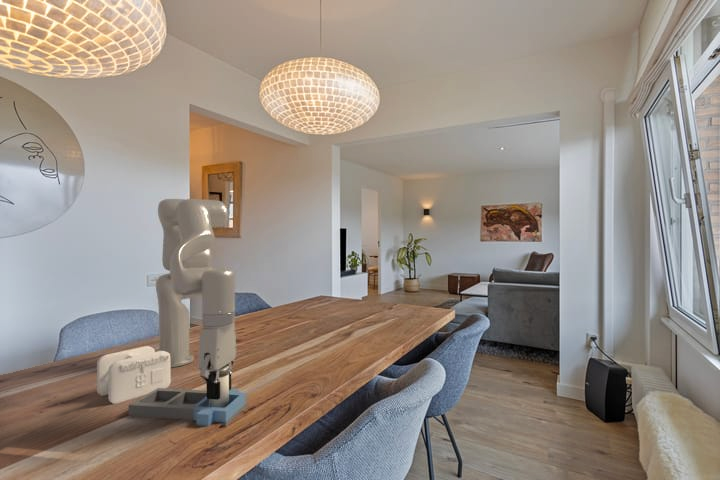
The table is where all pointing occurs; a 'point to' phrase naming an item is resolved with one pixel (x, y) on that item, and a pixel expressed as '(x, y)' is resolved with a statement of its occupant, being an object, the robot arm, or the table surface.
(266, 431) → the table surface
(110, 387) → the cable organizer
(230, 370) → the robot arm
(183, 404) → the three compartment tray
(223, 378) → the cream capped cylinder
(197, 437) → the table surface
